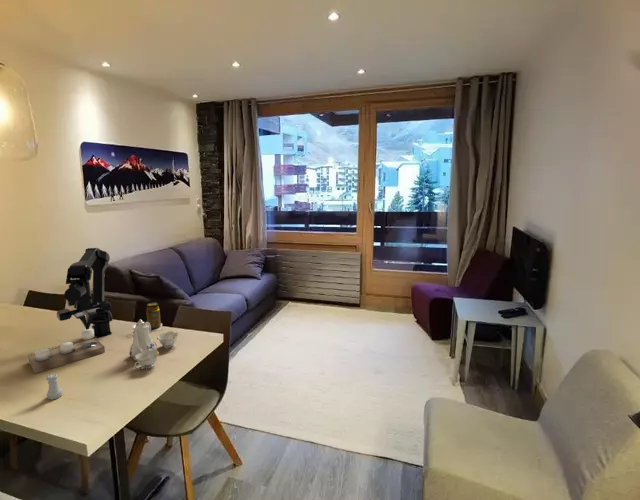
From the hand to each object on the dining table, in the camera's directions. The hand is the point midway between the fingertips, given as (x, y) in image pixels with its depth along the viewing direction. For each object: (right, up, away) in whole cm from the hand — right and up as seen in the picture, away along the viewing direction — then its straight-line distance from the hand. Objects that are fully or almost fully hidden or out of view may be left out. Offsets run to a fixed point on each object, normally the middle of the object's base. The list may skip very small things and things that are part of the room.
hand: (87, 329), depth 154 cm
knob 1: (-11, -9, -10) cm, 18 cm away
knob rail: (-5, -11, -4) cm, 13 cm away
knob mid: (-5, -8, -4) cm, 11 cm away
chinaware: (+28, -11, -2) cm, 30 cm away
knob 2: (0, -4, +1) cm, 4 cm away
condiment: (+16, -5, +26) cm, 31 cm away
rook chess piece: (+9, -16, -31) cm, 36 cm away
